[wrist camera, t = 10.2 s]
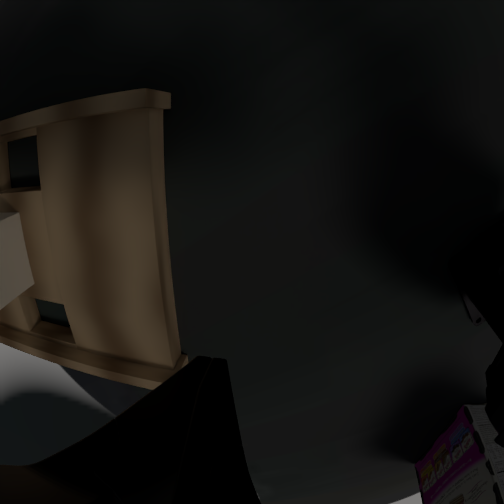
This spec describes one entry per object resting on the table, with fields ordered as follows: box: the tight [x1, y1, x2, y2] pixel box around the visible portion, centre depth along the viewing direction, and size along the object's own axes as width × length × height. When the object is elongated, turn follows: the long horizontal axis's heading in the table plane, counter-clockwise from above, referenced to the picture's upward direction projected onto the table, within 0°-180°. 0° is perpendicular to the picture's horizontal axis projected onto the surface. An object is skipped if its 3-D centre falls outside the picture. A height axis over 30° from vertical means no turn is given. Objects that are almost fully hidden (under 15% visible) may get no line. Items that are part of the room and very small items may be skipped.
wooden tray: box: [0, 88, 188, 390], centre depth 21 cm, size 24×20×4 cm
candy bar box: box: [415, 403, 504, 504], centre depth 18 cm, size 11×5×16 cm, turn 172°
